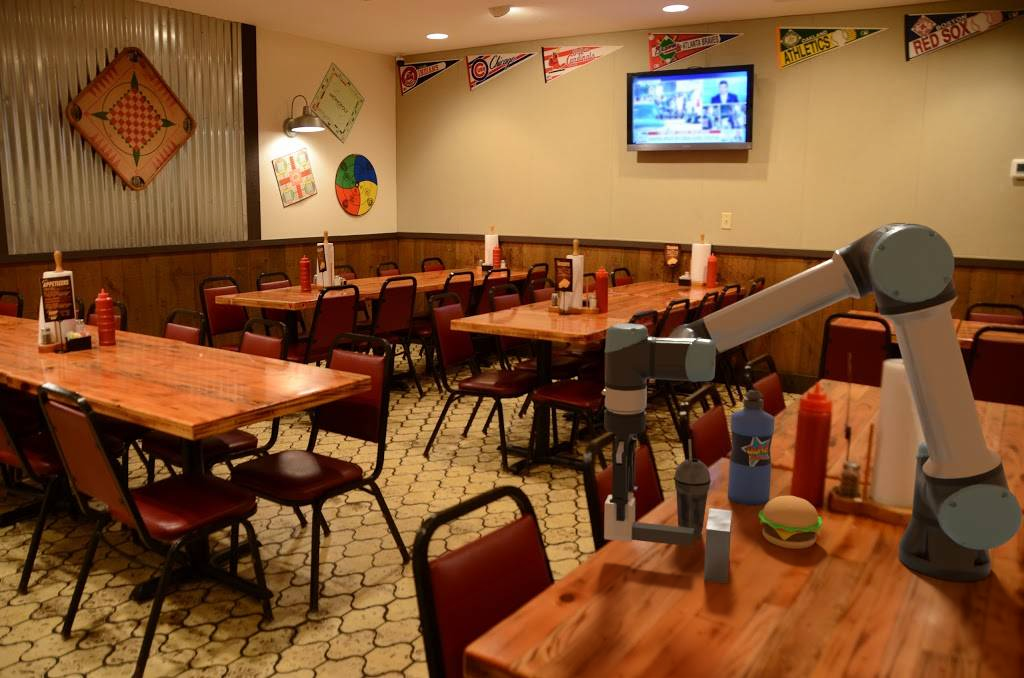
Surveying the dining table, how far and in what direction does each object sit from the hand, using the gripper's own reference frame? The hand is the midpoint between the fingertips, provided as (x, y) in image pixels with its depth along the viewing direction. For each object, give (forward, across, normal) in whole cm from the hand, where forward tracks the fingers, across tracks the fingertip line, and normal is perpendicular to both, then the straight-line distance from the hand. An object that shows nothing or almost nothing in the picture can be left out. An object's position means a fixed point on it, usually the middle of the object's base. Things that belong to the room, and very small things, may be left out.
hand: (623, 529), depth 151 cm
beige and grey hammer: (+1, 0, +5) cm, 5 cm away
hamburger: (+6, -18, +30) cm, 36 cm away
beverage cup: (+6, -15, +11) cm, 20 cm away
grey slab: (+6, 0, +17) cm, 18 cm away
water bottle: (+6, -39, +22) cm, 45 cm away
